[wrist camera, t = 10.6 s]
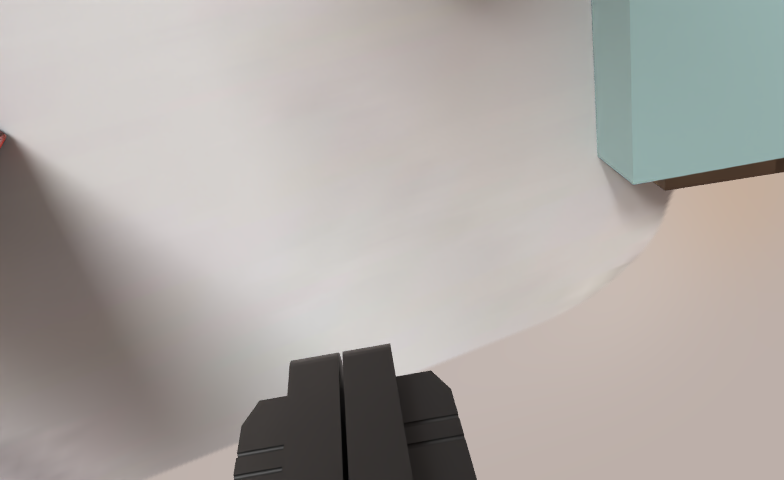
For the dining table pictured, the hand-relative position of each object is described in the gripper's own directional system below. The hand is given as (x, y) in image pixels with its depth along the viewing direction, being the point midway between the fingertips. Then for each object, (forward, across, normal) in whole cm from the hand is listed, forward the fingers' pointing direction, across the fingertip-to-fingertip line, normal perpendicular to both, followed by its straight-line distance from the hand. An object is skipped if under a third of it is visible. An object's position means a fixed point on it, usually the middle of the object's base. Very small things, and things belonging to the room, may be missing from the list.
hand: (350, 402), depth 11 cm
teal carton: (+27, -17, +1) cm, 32 cm away
